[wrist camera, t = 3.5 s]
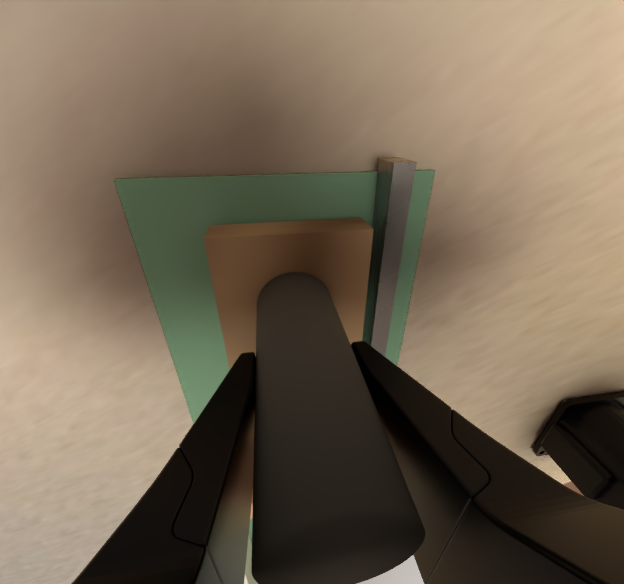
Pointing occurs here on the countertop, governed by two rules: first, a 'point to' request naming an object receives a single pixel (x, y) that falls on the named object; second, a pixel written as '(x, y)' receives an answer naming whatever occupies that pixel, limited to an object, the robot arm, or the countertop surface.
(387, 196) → the guide rail
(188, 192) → the mat
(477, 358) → the countertop surface
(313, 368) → the striker sled
